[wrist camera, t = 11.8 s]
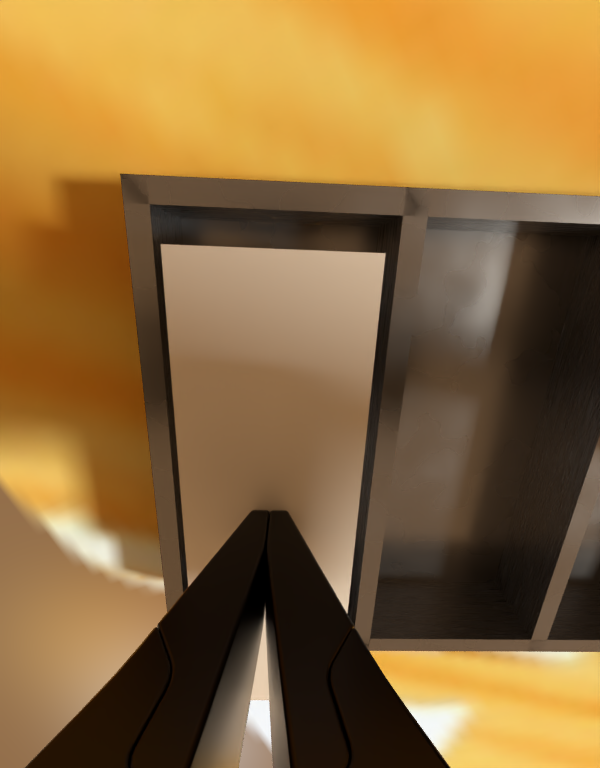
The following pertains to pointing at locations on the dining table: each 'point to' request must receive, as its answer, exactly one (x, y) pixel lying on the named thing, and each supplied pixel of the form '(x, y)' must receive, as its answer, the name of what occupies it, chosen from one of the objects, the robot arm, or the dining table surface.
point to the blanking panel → (271, 395)
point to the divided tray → (429, 398)
